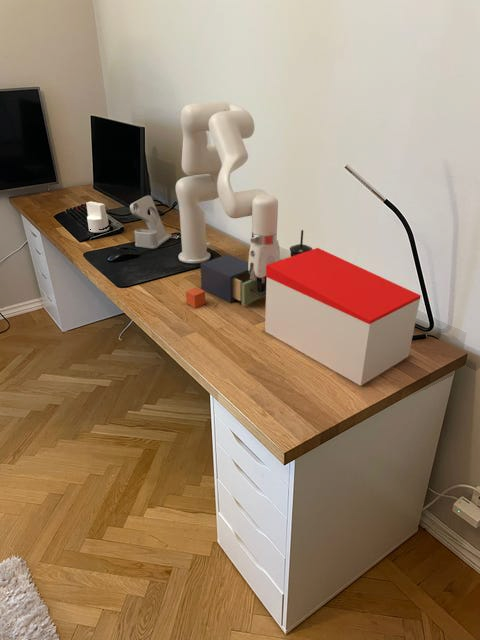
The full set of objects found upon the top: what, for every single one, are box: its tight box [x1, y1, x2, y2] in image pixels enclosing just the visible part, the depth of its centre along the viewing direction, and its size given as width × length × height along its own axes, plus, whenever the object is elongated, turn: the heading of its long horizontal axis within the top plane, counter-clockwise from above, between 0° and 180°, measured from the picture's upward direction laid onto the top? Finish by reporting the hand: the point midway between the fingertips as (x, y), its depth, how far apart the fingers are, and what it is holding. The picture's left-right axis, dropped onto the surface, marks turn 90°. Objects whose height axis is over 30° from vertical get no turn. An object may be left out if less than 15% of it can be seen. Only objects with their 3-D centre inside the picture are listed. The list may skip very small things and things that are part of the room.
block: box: [185, 286, 207, 309], centre depth 157 cm, size 4×4×4 cm
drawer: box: [232, 272, 266, 306], centre depth 159 cm, size 19×12×7 cm, turn 44°
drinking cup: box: [289, 229, 314, 257], centre depth 166 cm, size 8×8×20 cm
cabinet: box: [200, 253, 249, 304], centre depth 165 cm, size 15×13×9 cm
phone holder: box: [129, 194, 173, 249], centre depth 206 cm, size 17×10×18 cm, turn 162°
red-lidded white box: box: [264, 247, 421, 387], centre depth 132 cm, size 21×35×21 cm, turn 40°
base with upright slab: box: [85, 201, 110, 234], centre depth 221 cm, size 9×9×12 cm
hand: (262, 292), depth 155 cm, fingers closed
